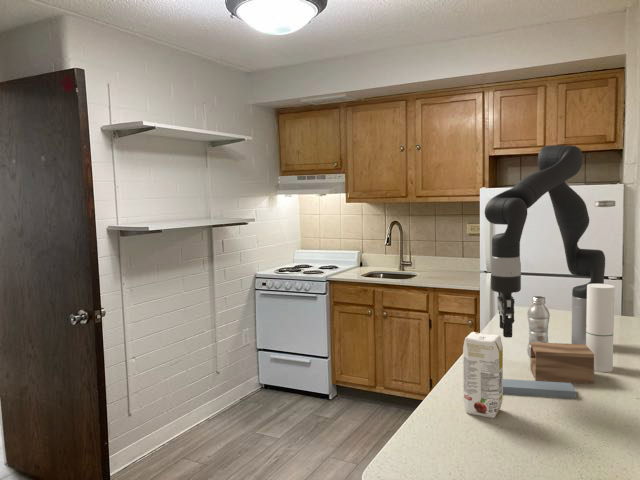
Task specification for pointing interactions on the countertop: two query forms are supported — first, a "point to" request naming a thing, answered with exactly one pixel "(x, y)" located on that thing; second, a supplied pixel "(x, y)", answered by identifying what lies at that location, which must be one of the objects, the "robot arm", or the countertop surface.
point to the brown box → (562, 362)
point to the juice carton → (482, 374)
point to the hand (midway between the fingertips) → (505, 332)
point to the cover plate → (538, 388)
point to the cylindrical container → (600, 325)
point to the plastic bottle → (538, 322)
